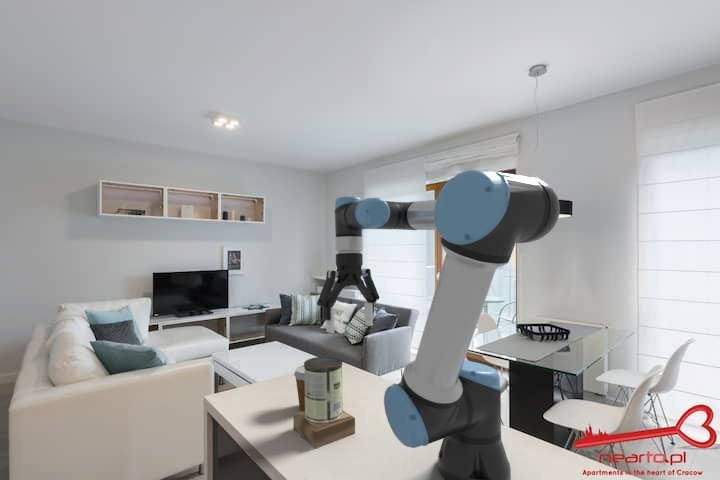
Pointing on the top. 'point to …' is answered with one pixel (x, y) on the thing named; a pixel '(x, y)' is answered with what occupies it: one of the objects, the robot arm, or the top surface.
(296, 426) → the stand
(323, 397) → the coffee can
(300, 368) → the disposable coffee cup
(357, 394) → the top surface
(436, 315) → the robot arm
